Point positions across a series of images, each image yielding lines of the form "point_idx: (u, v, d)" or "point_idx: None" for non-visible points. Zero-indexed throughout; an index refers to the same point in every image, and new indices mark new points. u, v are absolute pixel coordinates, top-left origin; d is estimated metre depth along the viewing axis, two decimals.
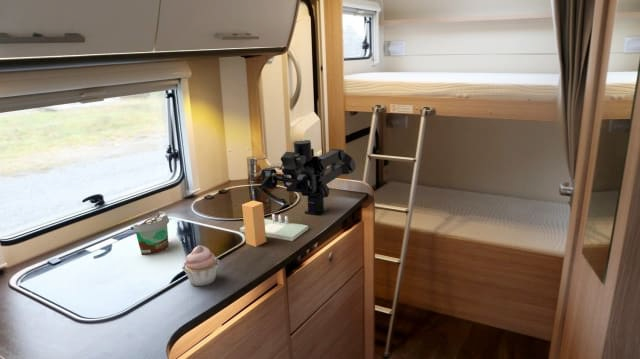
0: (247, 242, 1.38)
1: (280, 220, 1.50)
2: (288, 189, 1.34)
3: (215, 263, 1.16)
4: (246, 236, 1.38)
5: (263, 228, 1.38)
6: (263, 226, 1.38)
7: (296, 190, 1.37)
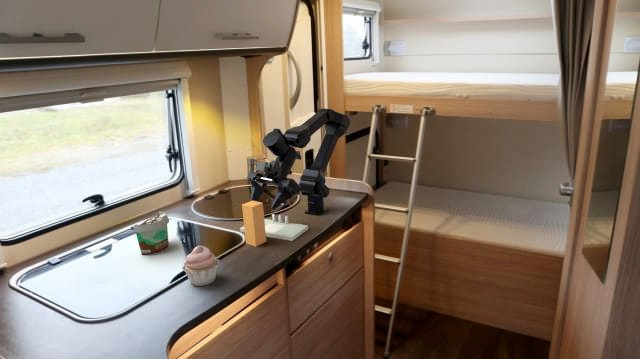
0: (247, 242, 1.38)
1: (280, 220, 1.50)
2: (273, 208, 1.36)
3: (215, 263, 1.16)
4: (246, 236, 1.38)
5: (263, 228, 1.38)
6: (263, 226, 1.38)
7: (282, 202, 1.37)
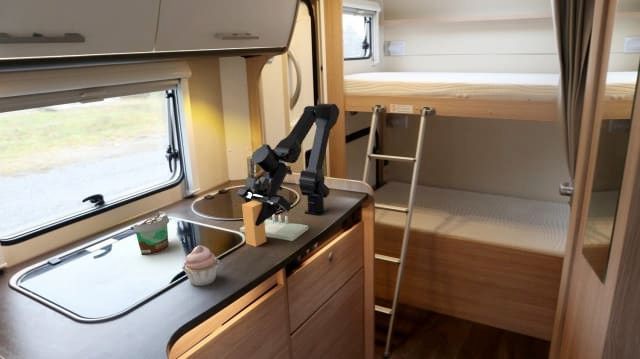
0: (247, 242, 1.38)
1: (280, 220, 1.50)
2: (257, 224, 1.35)
3: (215, 263, 1.16)
4: (246, 236, 1.38)
5: (263, 228, 1.38)
6: (263, 226, 1.38)
7: (266, 217, 1.36)
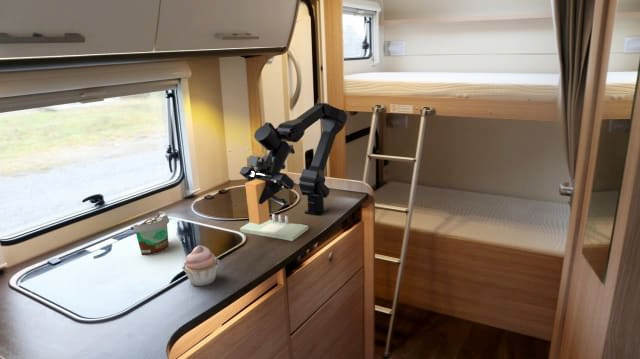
0: (250, 221, 1.39)
1: (280, 220, 1.50)
2: (261, 202, 1.35)
3: (215, 263, 1.16)
4: (249, 215, 1.38)
5: (266, 206, 1.38)
6: (266, 204, 1.38)
7: (269, 196, 1.37)
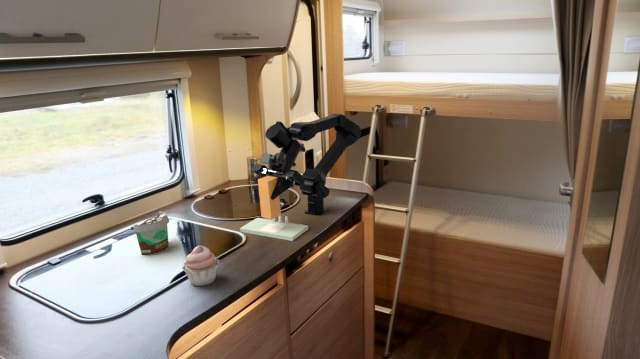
0: (262, 215, 1.45)
1: (280, 220, 1.50)
2: (273, 198, 1.41)
3: (215, 263, 1.16)
4: (262, 210, 1.44)
5: (278, 202, 1.44)
6: (278, 200, 1.44)
7: (281, 192, 1.42)
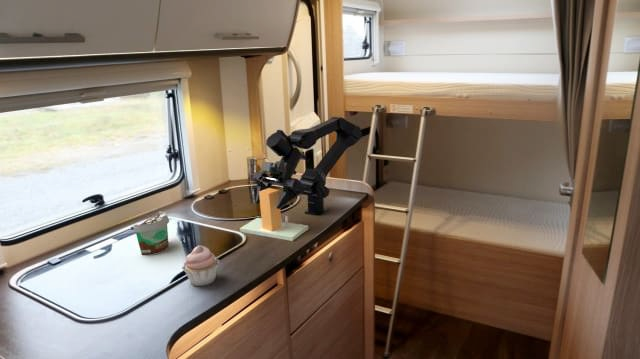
0: (263, 227, 1.46)
1: None
2: (278, 207, 1.40)
3: (215, 263, 1.16)
4: (262, 222, 1.45)
5: (279, 214, 1.45)
6: (279, 212, 1.45)
7: (287, 201, 1.42)
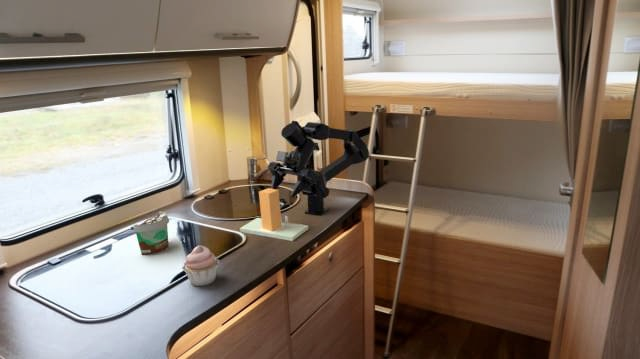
0: (263, 227, 1.46)
1: None
2: (293, 195, 1.44)
3: (215, 263, 1.16)
4: (262, 222, 1.45)
5: (279, 214, 1.45)
6: (279, 212, 1.45)
7: (301, 190, 1.46)
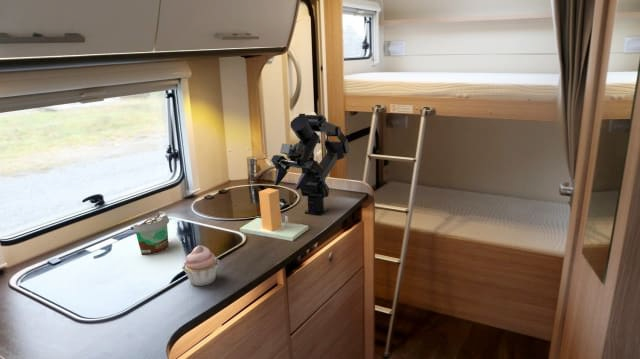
0: (263, 227, 1.46)
1: None
2: (297, 188, 1.44)
3: (215, 263, 1.16)
4: (262, 222, 1.45)
5: (279, 214, 1.45)
6: (279, 212, 1.45)
7: (305, 182, 1.45)
